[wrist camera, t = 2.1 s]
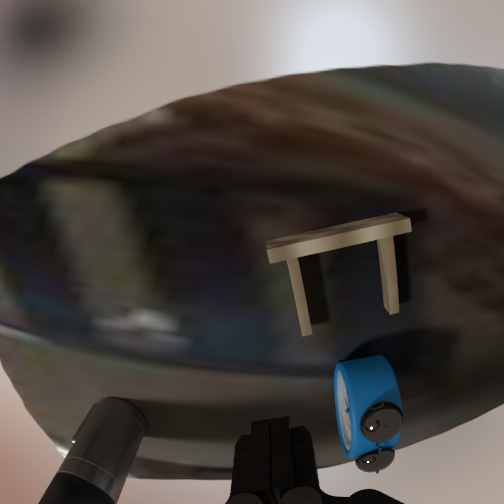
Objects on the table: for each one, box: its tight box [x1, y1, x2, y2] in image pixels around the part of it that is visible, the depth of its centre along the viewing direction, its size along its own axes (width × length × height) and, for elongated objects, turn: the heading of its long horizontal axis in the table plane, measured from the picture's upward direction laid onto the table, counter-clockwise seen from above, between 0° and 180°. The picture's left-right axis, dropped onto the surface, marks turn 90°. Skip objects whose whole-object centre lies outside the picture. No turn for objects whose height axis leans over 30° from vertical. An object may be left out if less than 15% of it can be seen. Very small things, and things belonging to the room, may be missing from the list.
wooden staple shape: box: [266, 213, 411, 336], centre depth 36 cm, size 16×12×4 cm
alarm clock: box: [334, 355, 403, 473], centre depth 34 cm, size 13×6×15 cm, turn 8°
